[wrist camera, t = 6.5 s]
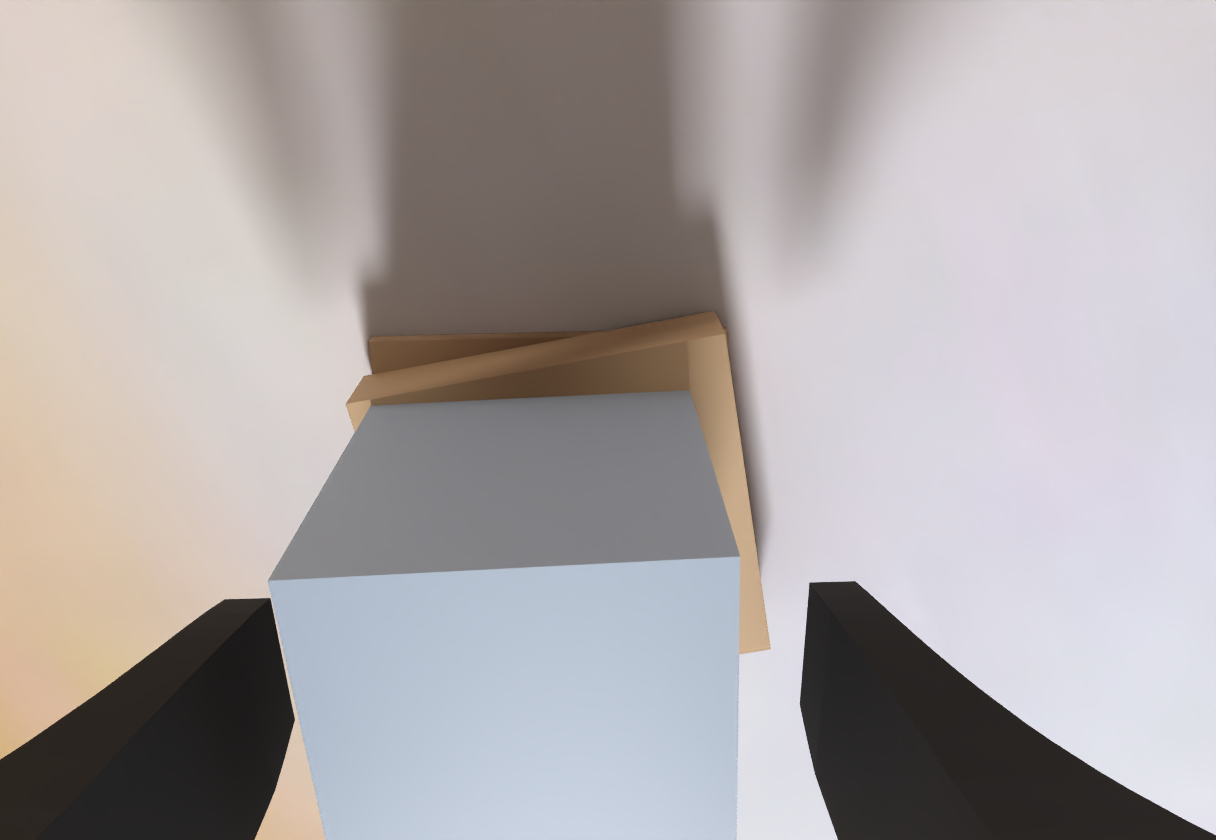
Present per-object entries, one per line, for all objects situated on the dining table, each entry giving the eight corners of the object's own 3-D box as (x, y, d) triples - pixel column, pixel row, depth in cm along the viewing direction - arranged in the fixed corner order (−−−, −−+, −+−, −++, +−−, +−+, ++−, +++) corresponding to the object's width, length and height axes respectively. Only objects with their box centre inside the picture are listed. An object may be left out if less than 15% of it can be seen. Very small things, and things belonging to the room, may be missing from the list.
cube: (689, 388, 14) (741, 556, 10) (692, 650, 16) (735, 895, 11) (370, 405, 14) (268, 579, 10) (412, 665, 16) (342, 916, 11)
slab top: (715, 310, 15) (725, 333, 14) (758, 608, 17) (770, 648, 16) (364, 375, 15) (346, 404, 14) (453, 659, 18) (444, 702, 16)
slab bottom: (718, 311, 16) (728, 333, 15) (709, 592, 19) (717, 629, 17) (383, 320, 16) (367, 341, 15) (418, 599, 19) (407, 638, 17)
